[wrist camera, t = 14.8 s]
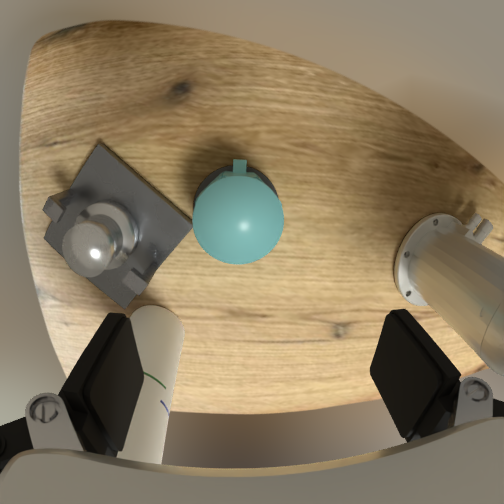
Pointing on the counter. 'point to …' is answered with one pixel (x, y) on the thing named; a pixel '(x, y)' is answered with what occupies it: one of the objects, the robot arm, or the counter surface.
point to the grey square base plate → (114, 226)
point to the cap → (238, 217)
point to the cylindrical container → (153, 381)
